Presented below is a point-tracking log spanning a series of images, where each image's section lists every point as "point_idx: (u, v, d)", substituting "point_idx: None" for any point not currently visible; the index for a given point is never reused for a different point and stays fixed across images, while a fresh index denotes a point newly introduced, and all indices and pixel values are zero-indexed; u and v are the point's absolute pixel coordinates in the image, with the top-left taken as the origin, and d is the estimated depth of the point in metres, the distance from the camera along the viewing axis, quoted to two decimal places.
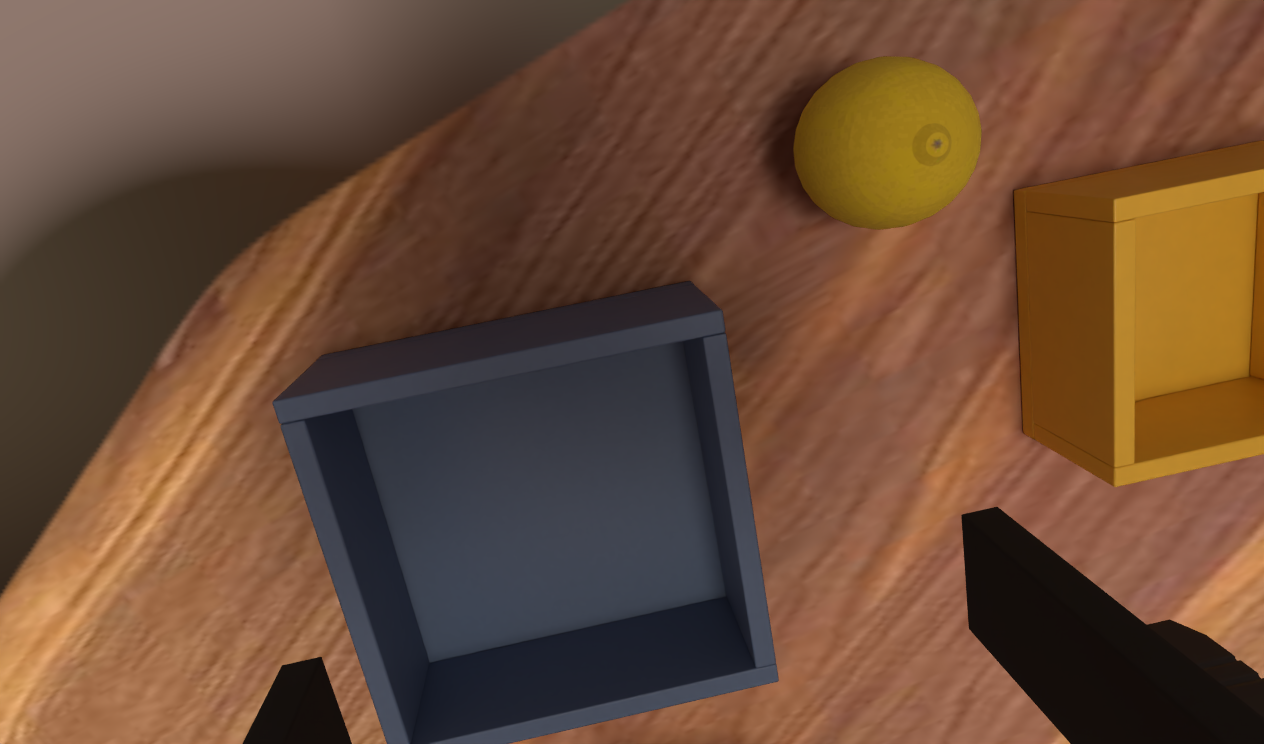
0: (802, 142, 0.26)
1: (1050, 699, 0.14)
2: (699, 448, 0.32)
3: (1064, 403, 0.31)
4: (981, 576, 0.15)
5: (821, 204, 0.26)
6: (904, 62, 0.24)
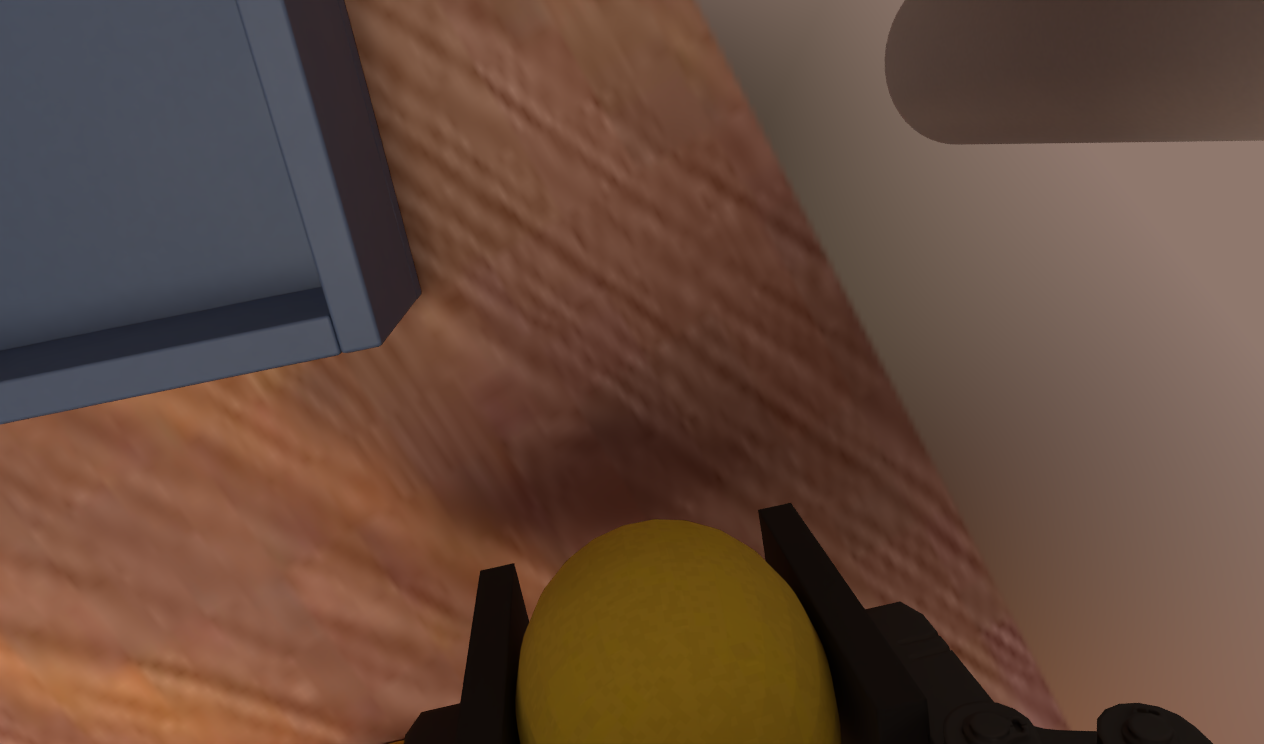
0: (681, 551, 0.13)
1: None
2: (134, 320, 0.19)
3: None
4: (772, 566, 0.17)
5: (562, 600, 0.13)
6: None
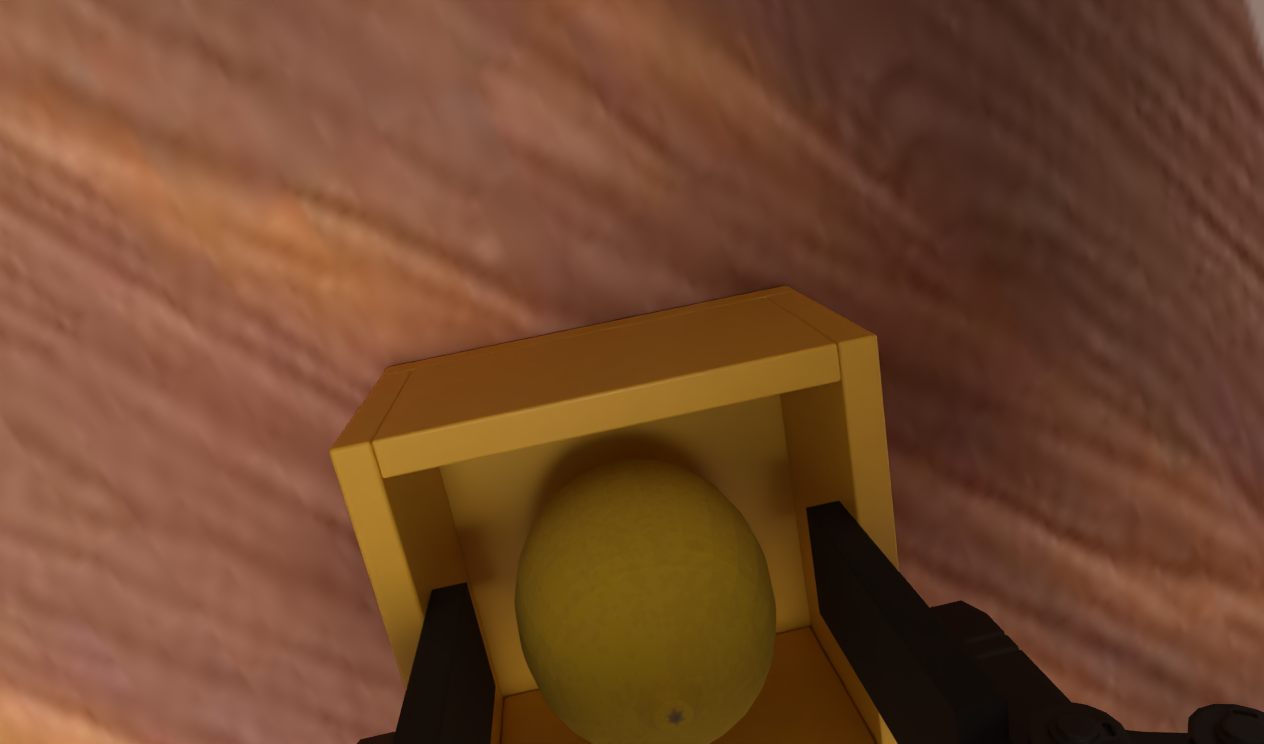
0: (648, 477, 0.16)
1: (866, 674, 0.15)
2: None
3: (470, 380, 0.17)
4: (821, 564, 0.17)
5: (552, 517, 0.16)
6: (775, 624, 0.16)
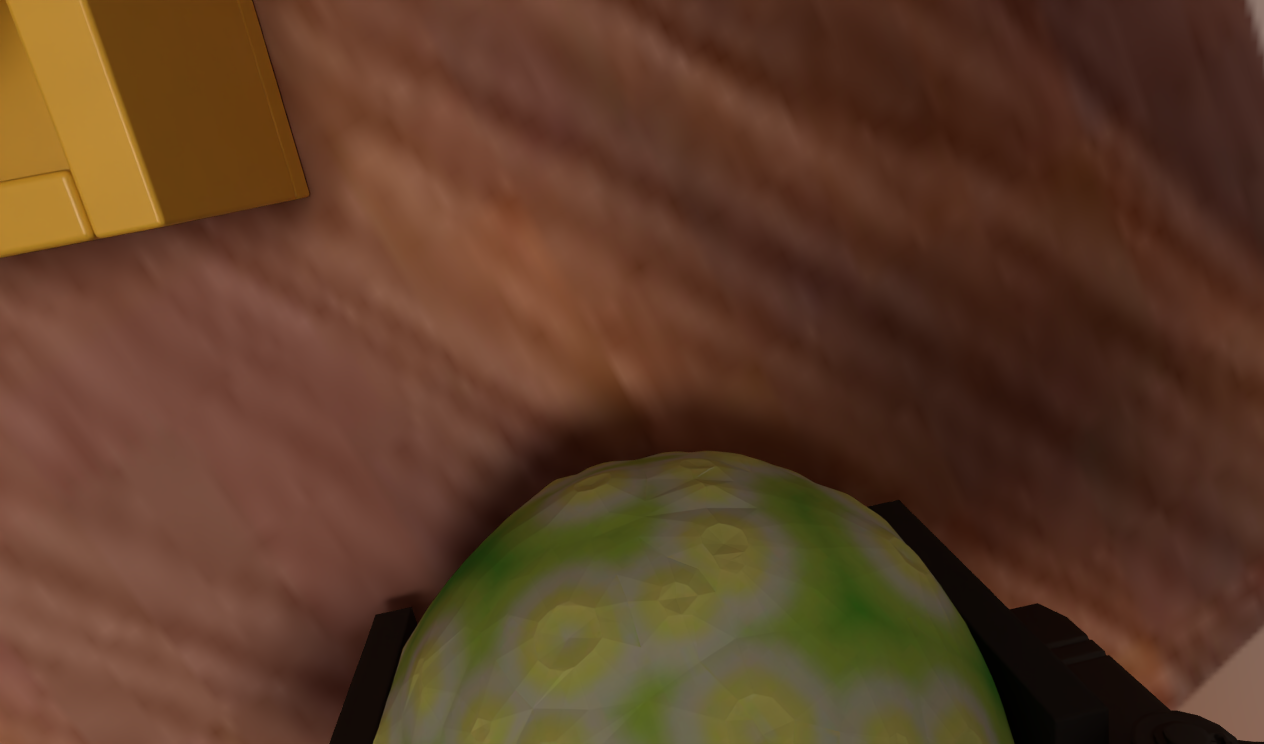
0: None
1: None
2: None
3: None
4: None
5: None
6: None
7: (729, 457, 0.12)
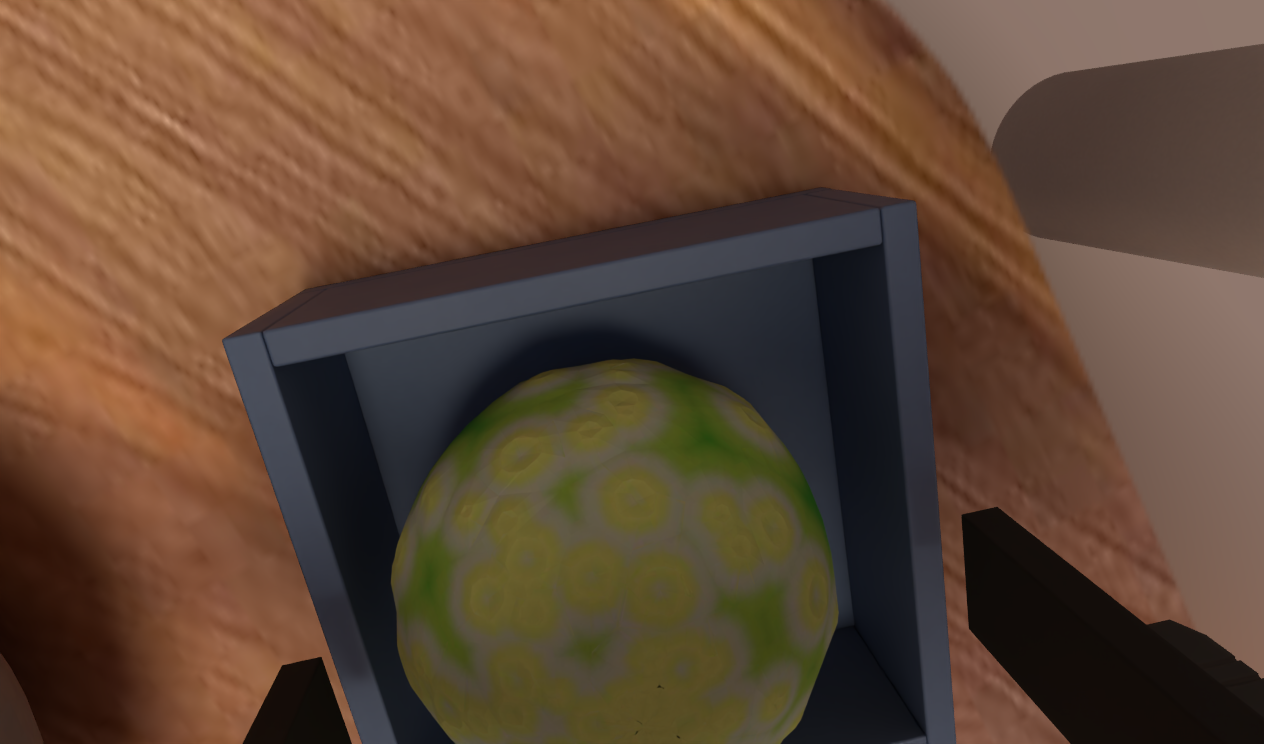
0: None
1: (1049, 699, 0.14)
2: None
3: None
4: (980, 576, 0.15)
5: None
6: None
7: (639, 360, 0.18)
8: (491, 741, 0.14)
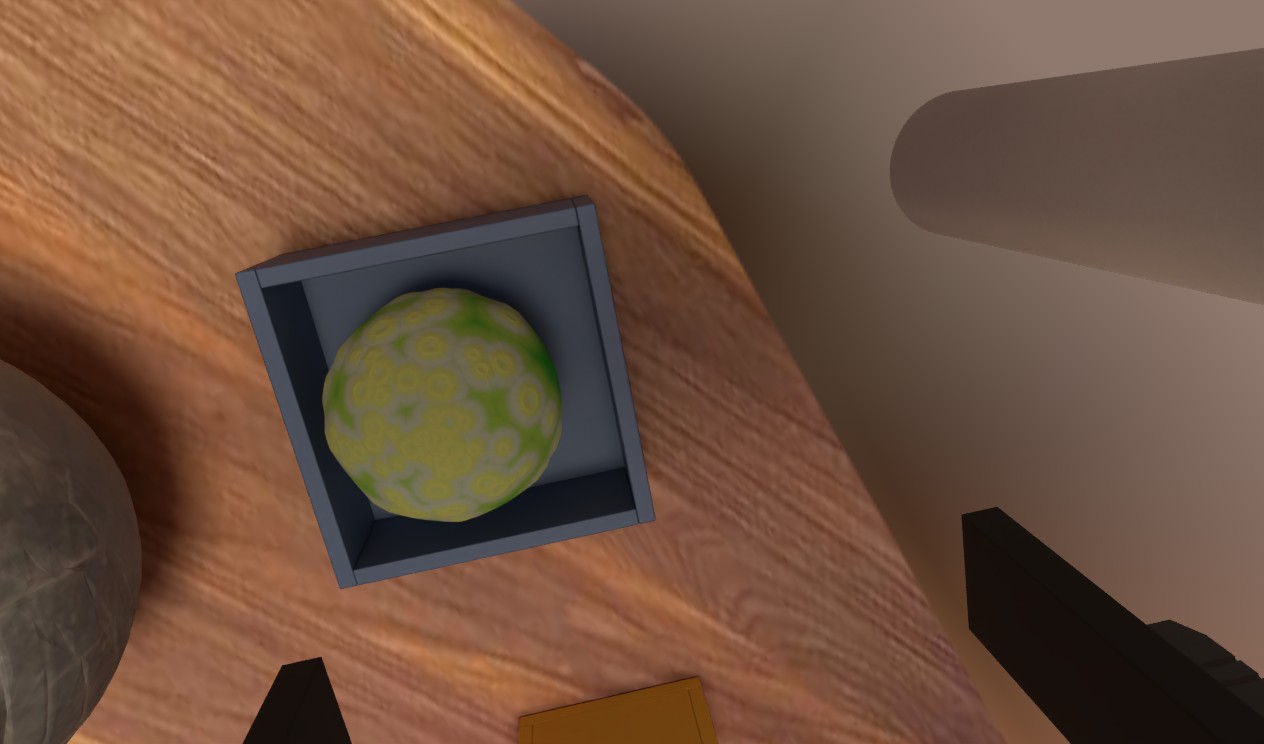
0: None
1: (1050, 699, 0.14)
2: None
3: None
4: (981, 577, 0.15)
5: None
6: None
7: (457, 288, 0.33)
8: (364, 463, 0.30)
